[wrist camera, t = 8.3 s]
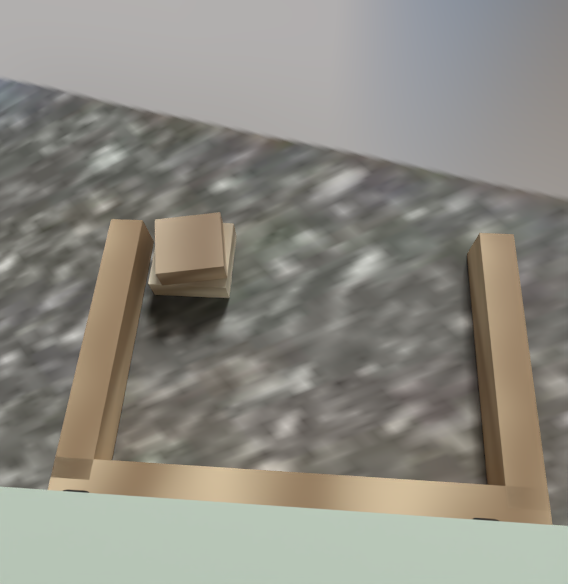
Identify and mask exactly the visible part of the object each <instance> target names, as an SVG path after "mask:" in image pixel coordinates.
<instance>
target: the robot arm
mask: <svg viewBox="0 0 568 584" xmlns="http://www.w3.org/2000/svg"><path fill="white" fill-rule="evenodd" d="M63 491H68V492H83V493H89V492H88V491H85V490H70V489H68V490H63ZM473 520H487V521H499V520H497V519H489V518H473Z"/></svg>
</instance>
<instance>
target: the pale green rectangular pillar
mask: <svg viewBox="0 0 568 584" xmlns="http://www.w3.org/2000/svg"><path fill="white" fill-rule="evenodd" d="M0 584H568V526H559V525H545V524H530V523H516V522H502V521H487V520H473V519H458V518H444V517H429V516H415V515H400V514H386V513H372V512H357V511H343V510H328V509H314V508H299V507H285V506H271V505H256V504H242V503H227V502H213V501H198V500H184V499H170V498H155V497H141V496H126V495H112V494H97V493H83V492H68V491H54V490H40V489H25V488H11V487H0Z"/></svg>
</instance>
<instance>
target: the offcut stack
mask: <svg viewBox="0 0 568 584" xmlns="http://www.w3.org/2000/svg"><path fill="white" fill-rule="evenodd" d="M235 245H236V232H235V228H234V224H230V223H223V222H222V218H221V214H220V212H219V213H210V214H201V215H192V216H183V217H175V218H166V219H157V220H155V250H154V256H153V261H152V266H151V272H150V277H149V282H148V285H149V286H150V288H151V289H152V291H153V293H154V294H155V295H171V296H192V297H214V298H229V296H230V287H231V279H232V270H233V262H234V253H235Z"/></svg>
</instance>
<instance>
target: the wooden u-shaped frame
mask: <svg viewBox="0 0 568 584" xmlns="http://www.w3.org/2000/svg"><path fill="white" fill-rule="evenodd" d="M153 243H154V241H153V239H152V238H151V236H150V234H149V232H148V230H147V228H146V226H145V224H144V222H143V220H119V219H111V222H110V227H109V231H108V235H107V239H106V244H105V248H104V252H103V256H102V261H101V265H100V269H99V274H98V278H97V282H96V286H95V291H94V295H93V299H92V303H91V308H90V312H89V316H88V320H87V325H86V329H85V333H84V337H83V342H82V346H81V350H80V355H79V359H78V363H77V367H76V372H75V376H74V380H73V384H72V389H71V393H70V397H69V401H68V406H67V410H66V414H65V419H64V423H63V427H62V431H61V436H60V440H59V444H58V448H57V453H56V457H55V461H54V465H53V470H52V474H51V478H50V482H49V487H48V490H54V491H63V490H68V489H70V490H85V491H88V492H89V493H97V494H112V495H126V496H141V497H155V498H170V499H184V500H198V501H213V502H227V503H242V504H256V505H271V506H285V507H299V508H314V509H328V510H343V511H357V512H372V513H386V514H400V515H415V516H429V517H444V518H458V519H473V518H489V519H497V520H499V521H502V522H516V523H530V524H545V525H552V519H551V511H550V504H549V496H548V489H547V481H546V474H545V466H544V459H543V451H542V444H541V436H540V429H539V421H538V414H537V406H536V399H535V391H534V384H533V376H532V369H531V361H530V354H529V346H528V339H527V331H526V324H525V316H524V308H523V301H522V293H521V286H520V278H519V271H518V263H517V256H516V248H515V241H514V234H490V233H479V235H478V237H477V238H476V240H475V242H474V243H473V245H472V247H471V248H470V250H469V252H468V253H467V260H468V271H469V282H470V293H471V304H472V315H473V327H474V338H475V349H476V360H477V371H478V383H479V394H480V405H481V416H482V427H483V439H484V450H485V461H486V472H487V483H488V485H482V484H467V483H451V482H436V481H420V480H405V479H390V478H374V477H359V476H343V475H328V474H313V473H297V472H282V471H266V470H251V469H236V468H220V467H205V466H189V465H174V464H159V463H143V462H128V461H112V457H113V452H114V446H115V441H116V436H117V431H118V426H119V420H120V415H121V410H122V405H123V399H124V394H125V389H126V384H127V379H128V373H129V368H130V363H131V358H132V352H133V347H134V342H135V337H136V332H137V326H138V321H139V316H140V311H141V305H142V300H143V295H144V290H145V285H146V279H147V274H148V269H149V264H150V258H151V253H152V248H153Z"/></svg>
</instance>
